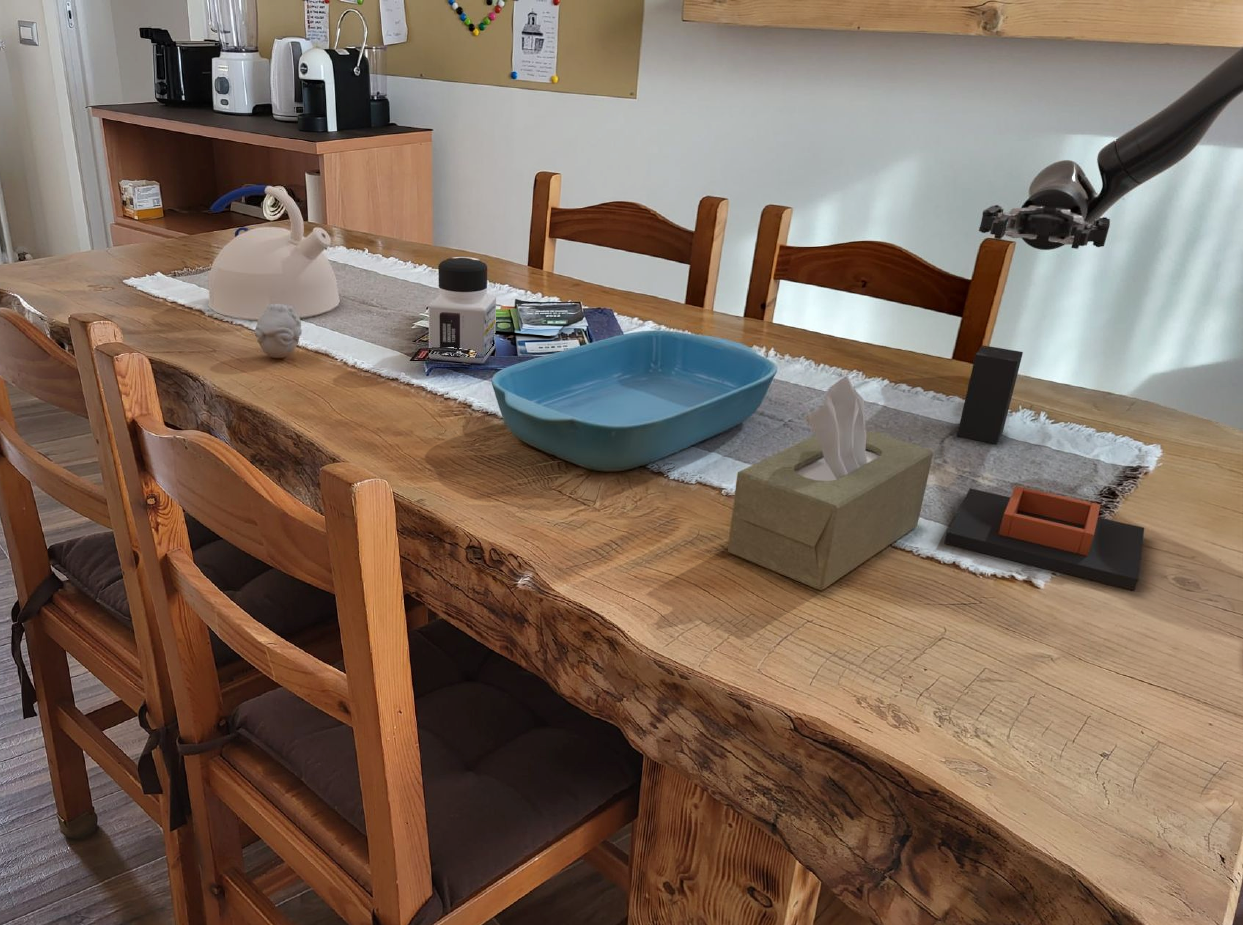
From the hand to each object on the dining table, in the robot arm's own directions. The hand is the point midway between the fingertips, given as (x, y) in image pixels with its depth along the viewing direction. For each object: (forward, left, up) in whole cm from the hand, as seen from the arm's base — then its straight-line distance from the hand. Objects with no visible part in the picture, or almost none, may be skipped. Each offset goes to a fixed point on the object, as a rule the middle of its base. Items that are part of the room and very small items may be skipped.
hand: (1037, 234), depth 122 cm
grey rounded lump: (+94, -3, -22) cm, 96 cm away
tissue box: (+28, +41, -22) cm, 54 cm away
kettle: (+103, -29, -22) cm, 109 cm away
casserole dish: (+46, +15, -22) cm, 53 cm away
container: (+70, -9, -22) cm, 74 cm away
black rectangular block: (+5, +10, -22) cm, 24 cm away
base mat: (+7, +38, -22) cm, 44 cm away
